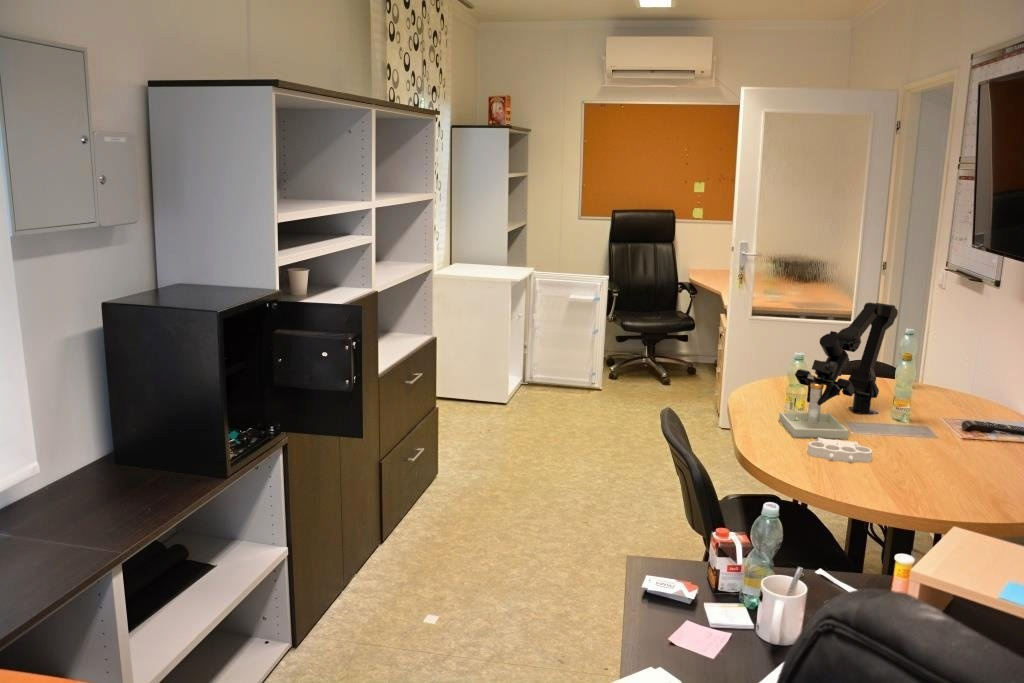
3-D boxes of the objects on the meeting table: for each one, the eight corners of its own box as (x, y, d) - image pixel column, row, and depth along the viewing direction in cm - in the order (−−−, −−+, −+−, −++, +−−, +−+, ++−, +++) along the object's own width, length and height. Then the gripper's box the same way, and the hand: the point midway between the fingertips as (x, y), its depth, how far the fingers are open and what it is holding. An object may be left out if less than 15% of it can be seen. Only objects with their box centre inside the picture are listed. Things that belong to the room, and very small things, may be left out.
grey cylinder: (808, 418, 269) (812, 381, 266) (821, 421, 267) (825, 383, 264) (805, 421, 266) (809, 383, 263) (817, 424, 264) (821, 386, 261)
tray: (779, 420, 276) (779, 412, 275) (829, 422, 275) (830, 413, 275) (793, 438, 259) (794, 429, 259) (847, 439, 259) (848, 430, 258)
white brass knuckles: (867, 450, 250) (873, 467, 237) (805, 444, 255) (808, 460, 241) (868, 440, 250) (875, 457, 236) (806, 434, 254) (809, 449, 241)
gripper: (800, 345, 271) (779, 383, 266) (854, 356, 257) (832, 396, 252) (810, 364, 277) (790, 401, 273) (863, 376, 264) (842, 415, 259)
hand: (813, 403), depth 264 cm, fingers closed on grey cylinder, 3 cm apart
